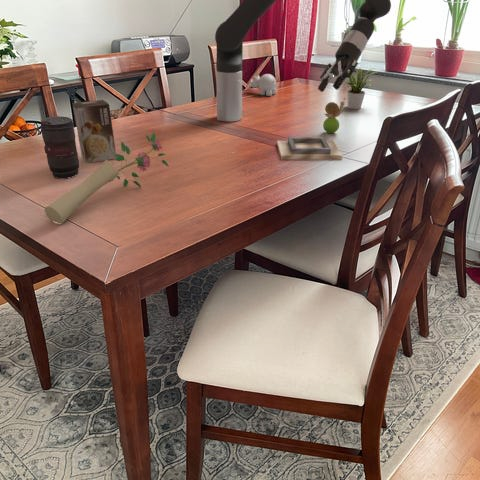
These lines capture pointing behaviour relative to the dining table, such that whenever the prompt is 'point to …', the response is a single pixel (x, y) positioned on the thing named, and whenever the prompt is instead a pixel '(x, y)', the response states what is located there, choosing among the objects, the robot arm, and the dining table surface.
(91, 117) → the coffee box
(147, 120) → the dining table surface
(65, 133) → the camera lens
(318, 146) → the board
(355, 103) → the house plant
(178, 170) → the dining table surface
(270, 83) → the round bodied animal figurine
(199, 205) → the dining table surface
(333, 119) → the snail figurine
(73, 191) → the flower vase
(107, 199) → the dining table surface
